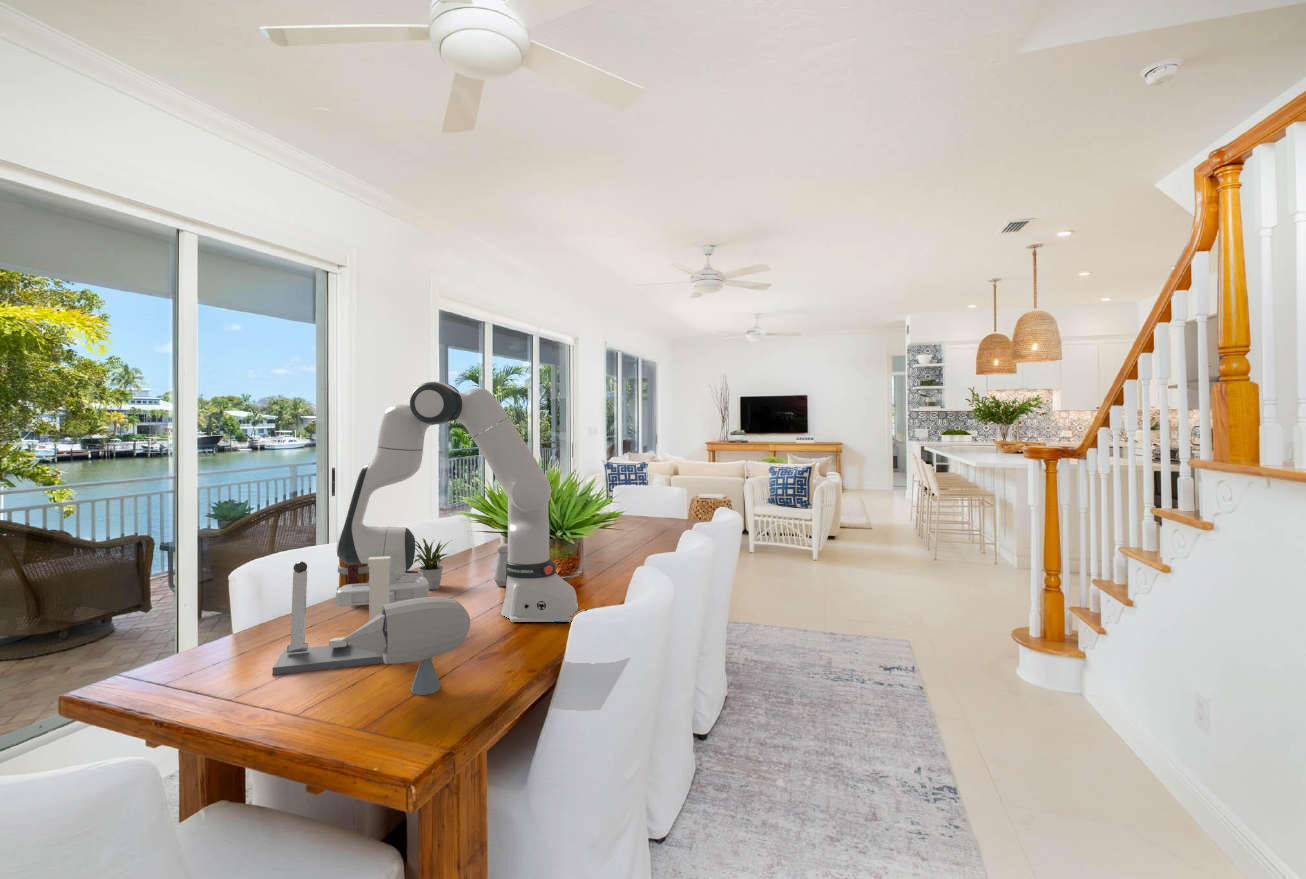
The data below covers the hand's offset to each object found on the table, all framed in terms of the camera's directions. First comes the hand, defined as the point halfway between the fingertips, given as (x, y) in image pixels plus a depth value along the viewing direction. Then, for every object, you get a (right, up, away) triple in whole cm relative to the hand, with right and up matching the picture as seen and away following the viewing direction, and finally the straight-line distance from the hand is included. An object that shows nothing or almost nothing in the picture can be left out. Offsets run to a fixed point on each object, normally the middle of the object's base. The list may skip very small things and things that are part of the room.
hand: (381, 601), depth 137 cm
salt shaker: (+15, -9, +53) cm, 55 cm away
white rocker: (-6, -7, -7) cm, 12 cm away
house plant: (-8, -9, +49) cm, 50 cm away
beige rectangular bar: (+1, -8, -4) cm, 9 cm away
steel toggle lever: (-14, -7, -9) cm, 18 cm away
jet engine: (+16, -11, -23) cm, 30 cm away
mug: (-24, -9, +36) cm, 44 cm away
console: (-6, -10, -8) cm, 14 cm away
